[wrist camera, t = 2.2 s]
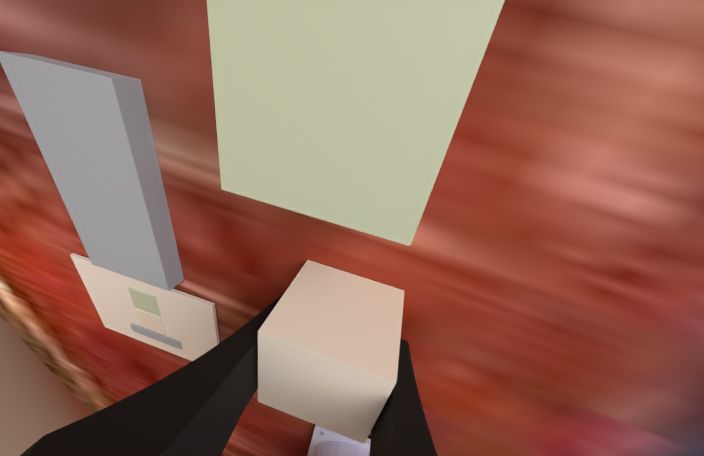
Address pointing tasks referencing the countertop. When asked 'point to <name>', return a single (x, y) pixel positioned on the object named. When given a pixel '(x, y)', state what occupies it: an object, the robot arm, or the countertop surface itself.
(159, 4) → the countertop surface
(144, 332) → the page
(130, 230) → the base brick
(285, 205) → the pale green cube
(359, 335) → the brick
